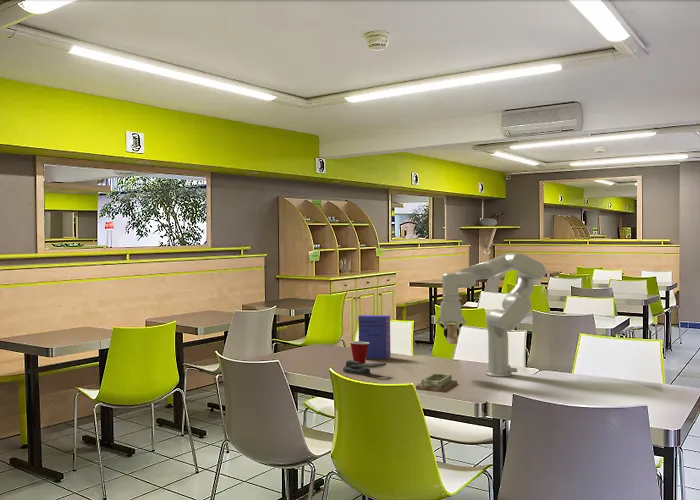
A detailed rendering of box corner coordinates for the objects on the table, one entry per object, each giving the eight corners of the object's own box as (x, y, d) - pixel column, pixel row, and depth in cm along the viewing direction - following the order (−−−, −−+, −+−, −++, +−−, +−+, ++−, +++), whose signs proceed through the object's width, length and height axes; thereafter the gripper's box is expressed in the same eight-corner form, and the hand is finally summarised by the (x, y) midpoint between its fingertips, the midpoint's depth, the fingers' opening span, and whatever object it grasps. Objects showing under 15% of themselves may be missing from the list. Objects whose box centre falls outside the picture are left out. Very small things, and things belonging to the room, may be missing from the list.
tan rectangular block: (454, 339, 305) (454, 323, 305) (457, 343, 293) (457, 326, 293) (445, 339, 305) (445, 323, 305) (448, 343, 293) (448, 326, 293)
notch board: (457, 383, 288) (456, 374, 288) (444, 391, 272) (444, 382, 272) (430, 381, 294) (430, 372, 294) (416, 389, 278) (415, 380, 278)
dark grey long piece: (375, 365, 300) (340, 358, 318) (375, 379, 300) (340, 371, 318) (388, 362, 306) (353, 356, 324) (388, 376, 306) (353, 369, 324)
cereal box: (390, 357, 356) (390, 315, 356) (389, 359, 352) (389, 316, 351) (360, 357, 359) (359, 315, 359) (358, 358, 354) (358, 316, 354)
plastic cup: (374, 363, 338) (373, 341, 337) (358, 366, 331) (358, 343, 331) (360, 361, 346) (360, 339, 346) (345, 363, 339) (345, 341, 339)
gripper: (467, 298, 302) (468, 336, 303) (432, 298, 303) (432, 336, 303) (469, 299, 295) (470, 338, 295) (433, 300, 296) (434, 338, 296)
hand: (451, 337), depth 299 cm, fingers closed on tan rectangular block, 4 cm apart
